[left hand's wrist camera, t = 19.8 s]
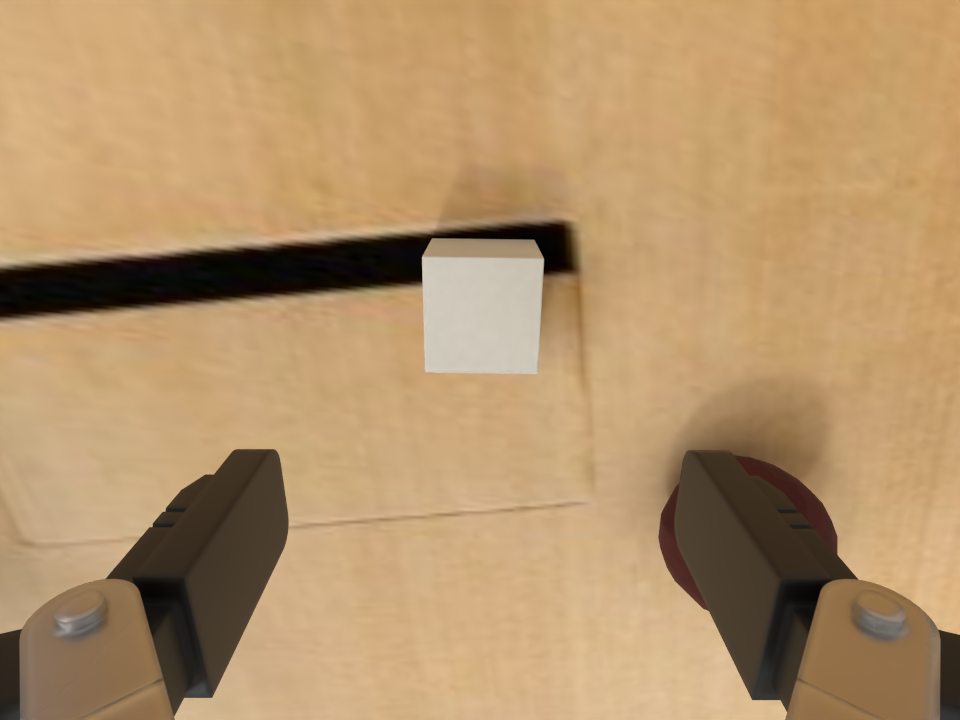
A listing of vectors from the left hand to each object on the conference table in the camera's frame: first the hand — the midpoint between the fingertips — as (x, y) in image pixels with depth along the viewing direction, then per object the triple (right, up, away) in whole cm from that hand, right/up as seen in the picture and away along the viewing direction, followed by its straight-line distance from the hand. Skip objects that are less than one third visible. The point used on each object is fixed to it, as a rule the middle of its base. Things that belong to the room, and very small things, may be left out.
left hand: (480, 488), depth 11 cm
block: (0, +6, +16) cm, 17 cm away
